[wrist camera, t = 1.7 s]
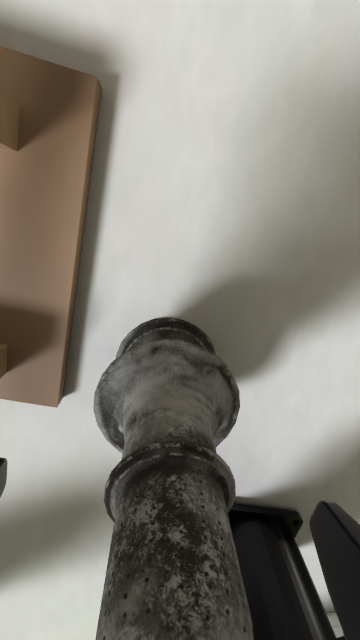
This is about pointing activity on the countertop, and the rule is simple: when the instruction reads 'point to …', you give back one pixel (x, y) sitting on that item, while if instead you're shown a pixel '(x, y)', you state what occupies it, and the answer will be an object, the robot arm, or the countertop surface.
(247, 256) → the countertop surface
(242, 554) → the robot arm
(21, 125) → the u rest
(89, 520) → the countertop surface
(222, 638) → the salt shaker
